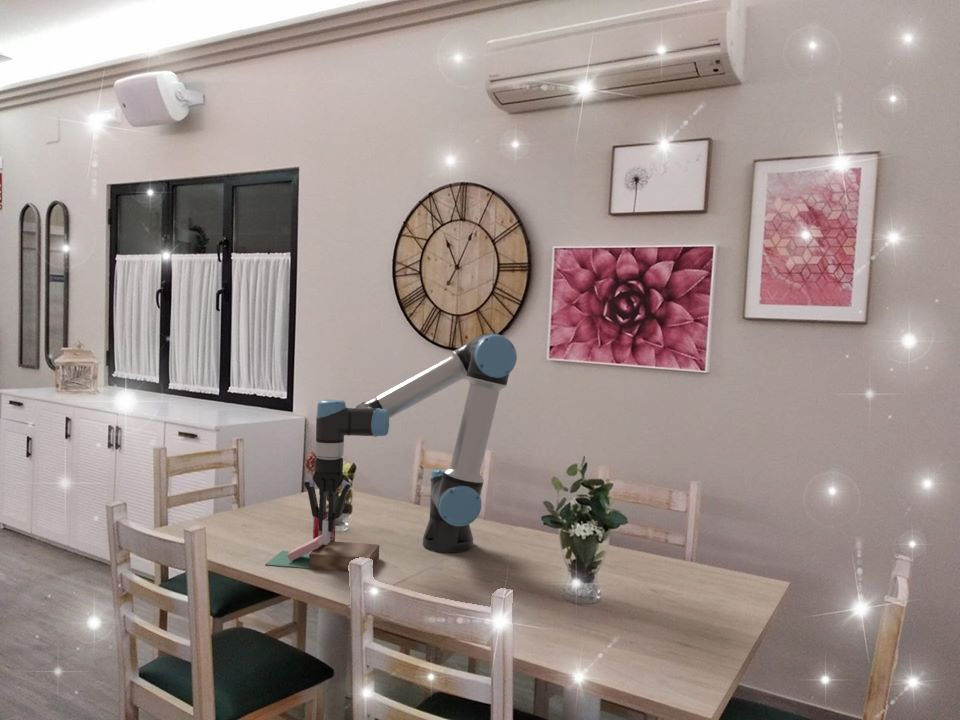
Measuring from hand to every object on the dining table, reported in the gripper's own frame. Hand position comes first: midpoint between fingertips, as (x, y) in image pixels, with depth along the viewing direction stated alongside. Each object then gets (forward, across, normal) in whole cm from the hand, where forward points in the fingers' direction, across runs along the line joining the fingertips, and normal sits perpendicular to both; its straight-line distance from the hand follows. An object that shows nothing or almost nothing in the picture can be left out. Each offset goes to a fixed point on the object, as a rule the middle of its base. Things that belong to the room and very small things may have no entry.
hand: (325, 542), depth 194 cm
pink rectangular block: (+3, +5, 0) cm, 5 cm away
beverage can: (+6, +4, -10) cm, 12 cm away
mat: (+5, +8, 0) cm, 10 cm away
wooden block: (+5, -6, 0) cm, 8 cm away
